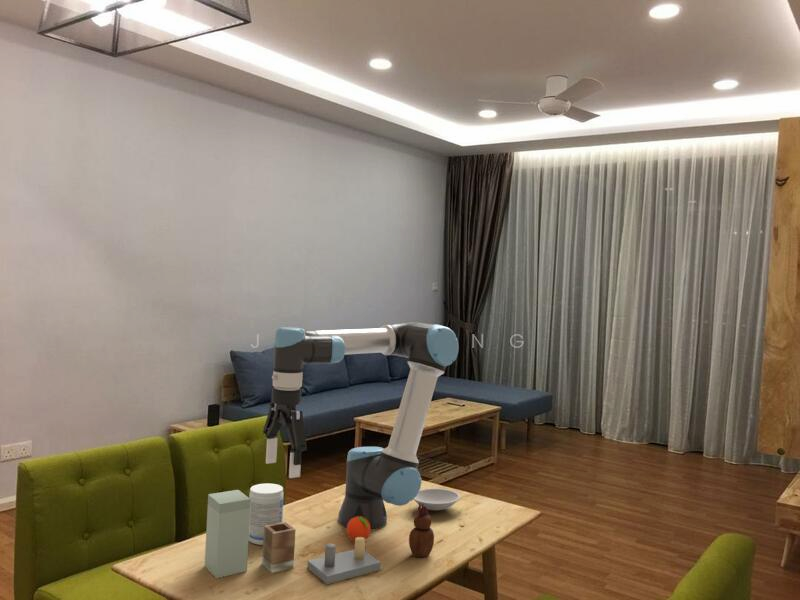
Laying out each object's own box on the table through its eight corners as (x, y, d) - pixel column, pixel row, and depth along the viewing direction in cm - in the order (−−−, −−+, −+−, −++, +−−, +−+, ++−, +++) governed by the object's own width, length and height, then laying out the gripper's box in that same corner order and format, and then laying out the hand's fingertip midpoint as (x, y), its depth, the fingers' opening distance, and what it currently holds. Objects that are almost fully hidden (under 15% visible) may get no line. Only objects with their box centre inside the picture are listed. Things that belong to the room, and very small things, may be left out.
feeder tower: (235, 558, 167) (239, 489, 166) (248, 570, 160) (251, 498, 160) (204, 565, 162) (208, 494, 161) (215, 578, 155) (219, 504, 155)
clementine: (377, 543, 182) (378, 518, 182) (358, 548, 177) (359, 523, 177) (360, 534, 188) (361, 510, 188) (341, 539, 183) (342, 514, 183)
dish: (441, 499, 222) (442, 485, 222) (469, 513, 210) (470, 498, 210) (401, 507, 212) (402, 492, 212) (427, 522, 200) (428, 506, 200)
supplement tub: (286, 542, 178) (289, 491, 178) (254, 548, 173) (257, 495, 173) (273, 530, 187) (276, 481, 186) (242, 536, 181) (244, 485, 181)
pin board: (359, 555, 173) (361, 529, 173) (380, 569, 165) (381, 543, 165) (307, 568, 163) (308, 541, 163) (326, 584, 155) (328, 556, 155)
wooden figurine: (415, 561, 171) (418, 506, 171) (405, 552, 177) (408, 499, 176) (436, 557, 175) (439, 503, 174) (426, 549, 180) (429, 496, 179)
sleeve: (283, 558, 168) (285, 521, 168) (293, 567, 163) (295, 529, 163) (262, 563, 165) (264, 525, 164) (271, 573, 160) (274, 533, 159)
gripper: (253, 380, 170) (249, 458, 171) (296, 397, 150) (291, 485, 151) (278, 379, 175) (274, 455, 175) (323, 395, 155) (318, 481, 155)
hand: (282, 469), depth 163 cm, fingers open, 13 cm apart
